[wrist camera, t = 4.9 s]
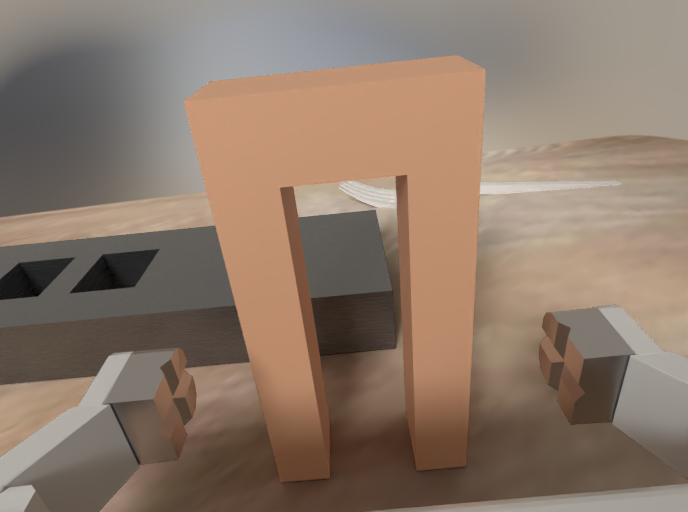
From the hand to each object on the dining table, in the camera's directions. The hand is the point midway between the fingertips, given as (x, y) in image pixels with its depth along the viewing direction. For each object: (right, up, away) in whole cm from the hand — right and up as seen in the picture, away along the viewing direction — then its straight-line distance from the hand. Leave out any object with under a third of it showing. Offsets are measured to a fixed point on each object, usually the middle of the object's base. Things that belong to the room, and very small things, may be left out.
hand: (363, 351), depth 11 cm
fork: (+9, +6, +24) cm, 26 cm away
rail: (-13, -1, +14) cm, 19 cm away
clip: (0, -4, +6) cm, 7 cm away
